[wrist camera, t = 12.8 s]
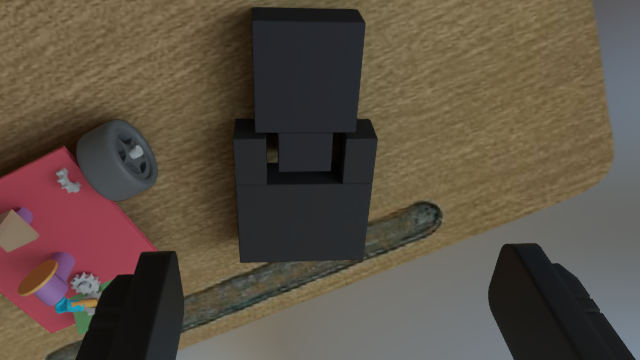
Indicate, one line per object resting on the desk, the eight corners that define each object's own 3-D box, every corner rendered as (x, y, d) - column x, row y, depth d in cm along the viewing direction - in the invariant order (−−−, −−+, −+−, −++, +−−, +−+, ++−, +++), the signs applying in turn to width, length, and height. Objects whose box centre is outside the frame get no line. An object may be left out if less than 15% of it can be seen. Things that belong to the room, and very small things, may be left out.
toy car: (123, 98, 27) (85, 161, 22) (233, 241, 34) (225, 319, 28) (-83, 203, 30) (-165, 283, 24) (55, 318, 36) (15, 403, 31)
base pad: (357, 235, 34) (363, 260, 32) (241, 238, 34) (240, 263, 32) (370, 119, 29) (378, 138, 27) (235, 118, 29) (232, 139, 27)
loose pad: (346, 149, 31) (352, 171, 28) (257, 150, 30) (256, 172, 28) (358, 9, 26) (365, 22, 24) (252, 7, 25) (251, 20, 23)
